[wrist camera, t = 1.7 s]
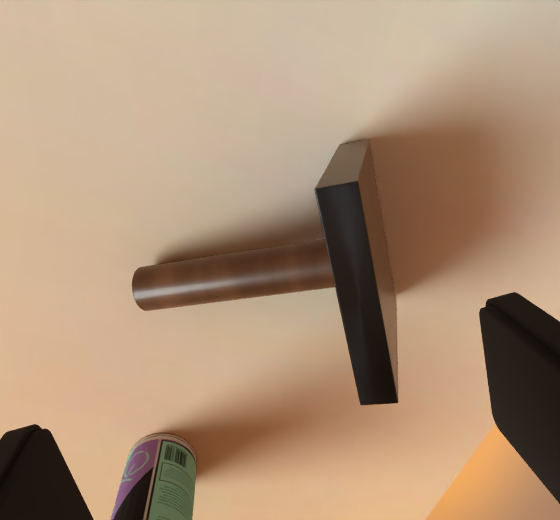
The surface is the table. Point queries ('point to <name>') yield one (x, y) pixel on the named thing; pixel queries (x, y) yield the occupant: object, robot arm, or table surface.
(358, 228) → the towel holder
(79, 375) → the table surface
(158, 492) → the spray can
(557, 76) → the table surface
